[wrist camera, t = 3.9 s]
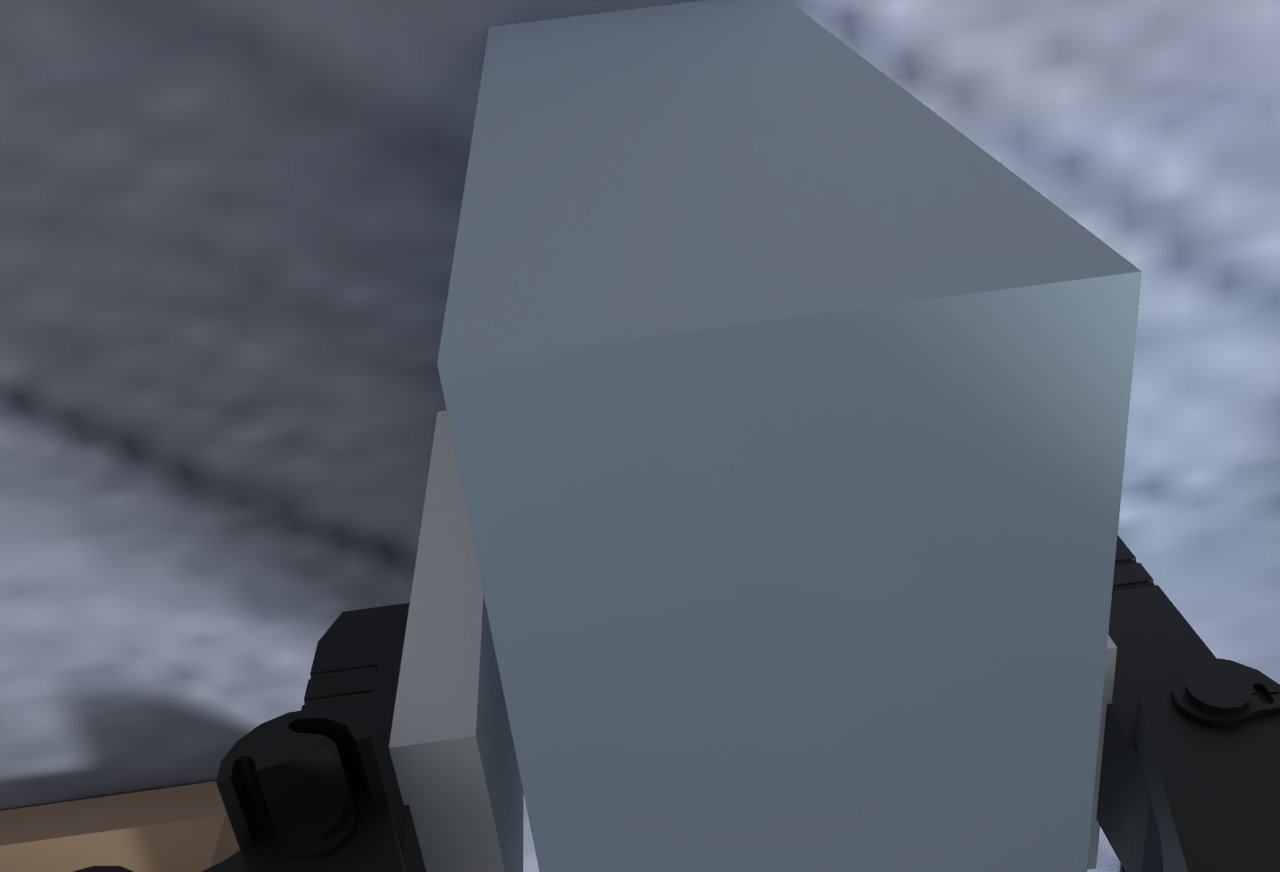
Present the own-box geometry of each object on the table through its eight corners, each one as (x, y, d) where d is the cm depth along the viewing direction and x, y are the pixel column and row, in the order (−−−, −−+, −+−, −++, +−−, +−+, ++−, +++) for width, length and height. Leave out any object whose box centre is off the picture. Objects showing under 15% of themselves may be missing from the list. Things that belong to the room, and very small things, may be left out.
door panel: (813, 741, 20) (1032, 1456, 12) (606, 770, 20) (669, 1511, 12) (774, -10, 15) (1141, 272, 6) (488, 25, 15) (436, 362, 6)
